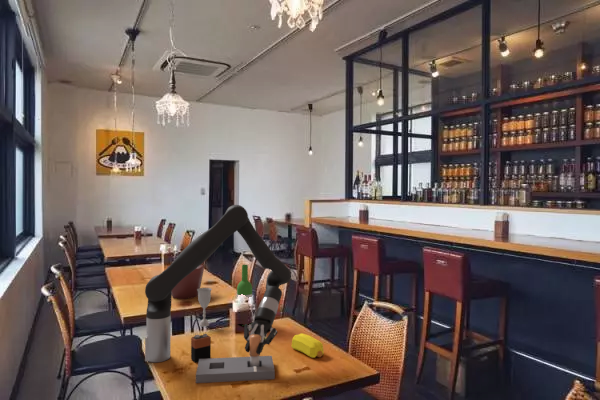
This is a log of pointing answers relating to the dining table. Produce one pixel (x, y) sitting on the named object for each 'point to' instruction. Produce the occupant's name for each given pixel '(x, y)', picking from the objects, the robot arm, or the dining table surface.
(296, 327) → the dining table surface
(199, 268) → the bucket
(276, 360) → the dining table surface
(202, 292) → the chalice
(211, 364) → the grey peg board
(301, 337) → the yellow faceted prism
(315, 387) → the dining table surface
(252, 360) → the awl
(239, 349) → the dining table surface
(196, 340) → the battery
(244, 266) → the wine bottle
